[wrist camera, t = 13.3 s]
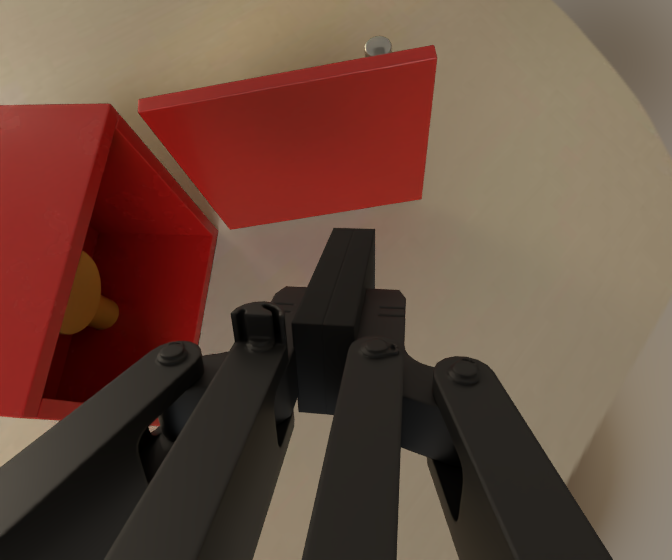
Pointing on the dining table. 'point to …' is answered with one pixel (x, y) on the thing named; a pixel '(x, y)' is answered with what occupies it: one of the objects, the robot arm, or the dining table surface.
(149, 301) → the cabinet
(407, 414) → the robot arm
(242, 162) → the door
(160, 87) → the dining table surface
